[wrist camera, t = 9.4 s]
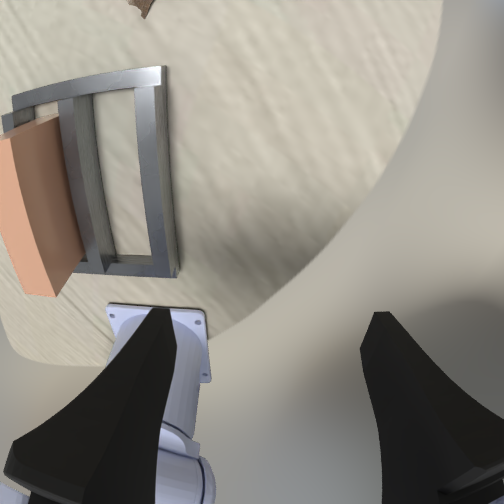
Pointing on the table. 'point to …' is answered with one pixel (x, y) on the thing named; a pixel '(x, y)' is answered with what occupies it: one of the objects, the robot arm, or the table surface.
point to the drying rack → (88, 171)
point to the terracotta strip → (38, 207)
